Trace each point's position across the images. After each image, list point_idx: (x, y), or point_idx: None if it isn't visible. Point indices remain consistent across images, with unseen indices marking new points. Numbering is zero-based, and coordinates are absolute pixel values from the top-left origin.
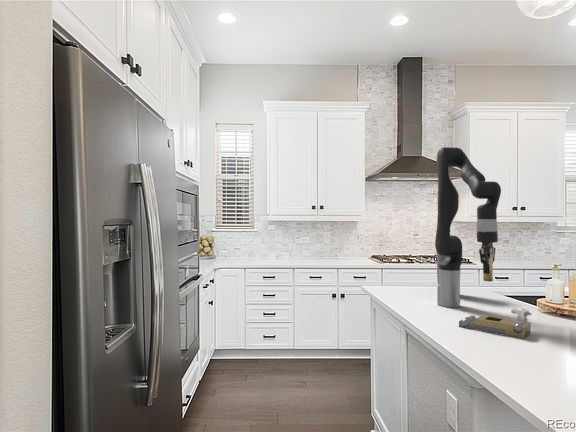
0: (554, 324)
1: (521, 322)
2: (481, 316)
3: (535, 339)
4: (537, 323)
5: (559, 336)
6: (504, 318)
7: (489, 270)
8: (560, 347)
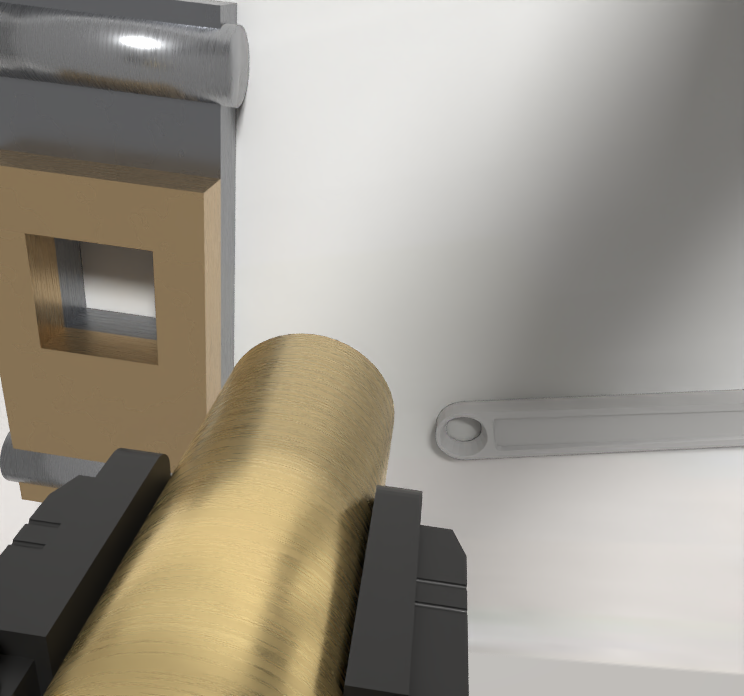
0: (594, 593)
1: None
2: (106, 193)
3: None
4: (561, 510)
5: None
6: (186, 374)
7: None
8: None
